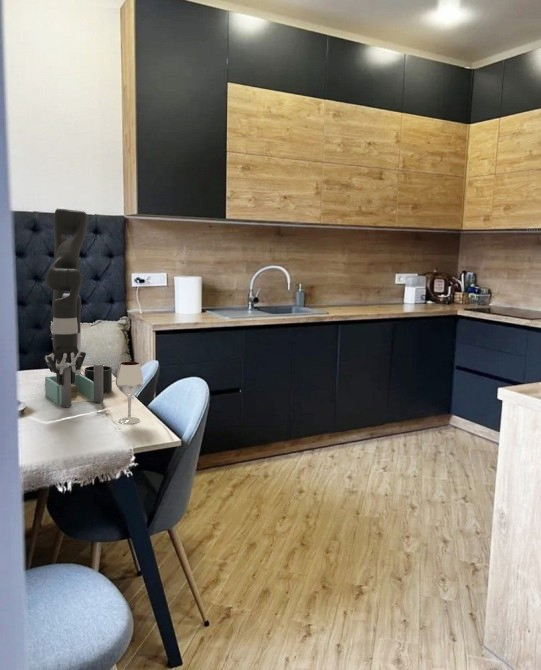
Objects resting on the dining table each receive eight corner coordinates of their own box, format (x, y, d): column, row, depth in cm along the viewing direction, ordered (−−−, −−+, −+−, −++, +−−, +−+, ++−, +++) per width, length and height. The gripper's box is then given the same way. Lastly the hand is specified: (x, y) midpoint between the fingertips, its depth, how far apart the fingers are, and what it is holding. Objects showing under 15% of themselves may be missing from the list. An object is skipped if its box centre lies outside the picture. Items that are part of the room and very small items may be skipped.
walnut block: (59, 396, 192) (59, 385, 191) (70, 394, 195) (70, 383, 194) (66, 399, 189) (66, 387, 189) (76, 396, 192) (76, 385, 192)
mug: (110, 387, 210) (110, 363, 209) (112, 395, 199) (112, 370, 198) (84, 388, 207) (83, 364, 206) (85, 396, 196) (84, 371, 194)
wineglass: (132, 415, 176) (132, 359, 173) (148, 421, 171) (149, 363, 168) (110, 420, 169) (110, 363, 167) (126, 426, 164) (126, 367, 162)
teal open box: (45, 396, 193) (45, 377, 192) (80, 392, 200) (79, 373, 199) (57, 406, 182) (57, 385, 181) (93, 401, 189) (93, 381, 188)
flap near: (64, 403, 183) (64, 365, 182) (73, 406, 180) (72, 367, 179) (56, 405, 181) (55, 366, 179) (64, 408, 178) (64, 369, 176)
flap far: (98, 403, 185) (97, 366, 183) (88, 401, 187) (88, 364, 185) (105, 402, 187) (105, 364, 185) (95, 399, 190) (95, 362, 188)
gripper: (78, 328, 184) (79, 379, 187) (38, 331, 174) (39, 385, 176) (91, 331, 180) (91, 383, 182) (50, 334, 169) (51, 389, 171)
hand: (65, 384), depth 179 cm, fingers closed on flap near, 3 cm apart
